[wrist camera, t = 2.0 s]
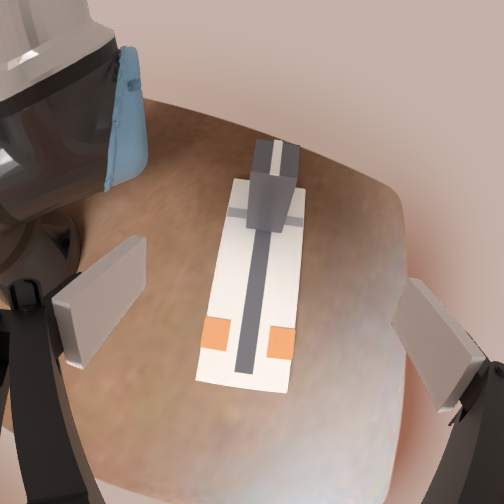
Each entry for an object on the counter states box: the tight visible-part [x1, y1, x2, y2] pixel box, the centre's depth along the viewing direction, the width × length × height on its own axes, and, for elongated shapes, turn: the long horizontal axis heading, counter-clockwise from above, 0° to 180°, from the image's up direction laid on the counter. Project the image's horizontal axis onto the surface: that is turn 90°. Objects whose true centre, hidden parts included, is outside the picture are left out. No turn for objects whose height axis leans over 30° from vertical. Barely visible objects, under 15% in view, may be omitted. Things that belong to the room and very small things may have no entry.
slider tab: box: [246, 139, 300, 233], centre depth 30 cm, size 4×4×10 cm
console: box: [196, 178, 306, 393], centre depth 33 cm, size 24×9×2 cm, turn 172°
